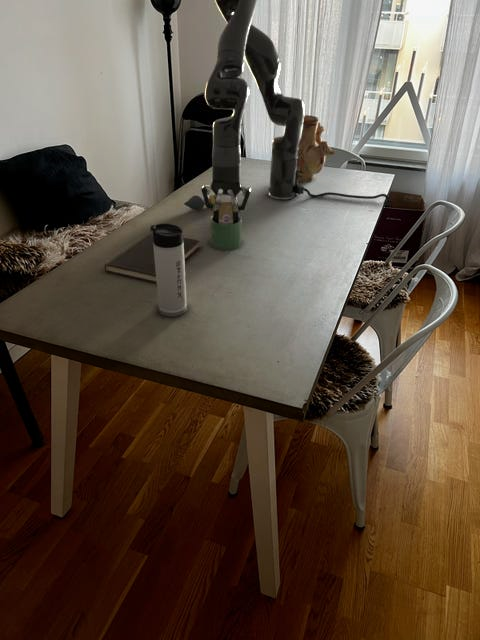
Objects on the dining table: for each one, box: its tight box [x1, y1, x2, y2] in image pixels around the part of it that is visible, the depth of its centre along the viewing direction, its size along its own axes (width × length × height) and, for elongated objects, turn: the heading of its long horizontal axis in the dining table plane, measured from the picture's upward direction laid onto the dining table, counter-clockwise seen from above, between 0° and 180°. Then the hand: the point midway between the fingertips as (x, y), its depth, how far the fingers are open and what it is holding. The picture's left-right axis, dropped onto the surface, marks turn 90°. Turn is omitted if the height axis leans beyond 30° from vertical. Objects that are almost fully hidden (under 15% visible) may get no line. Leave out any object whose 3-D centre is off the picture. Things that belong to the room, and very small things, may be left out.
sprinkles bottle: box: [218, 194, 234, 224], centre depth 132 cm, size 5×5×13 cm
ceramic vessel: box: [297, 113, 335, 182], centre depth 183 cm, size 18×19×25 cm
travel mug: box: [149, 223, 188, 318], centre depth 100 cm, size 6×7×20 cm
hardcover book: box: [104, 231, 201, 284], centre depth 126 cm, size 16×23×2 cm
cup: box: [209, 215, 243, 251], centre depth 134 cm, size 9×9×8 cm
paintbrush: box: [183, 194, 217, 211], centre depth 160 cm, size 20×5×5 cm, turn 134°
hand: (226, 222), depth 133 cm, fingers closed on sprinkles bottle, 4 cm apart
